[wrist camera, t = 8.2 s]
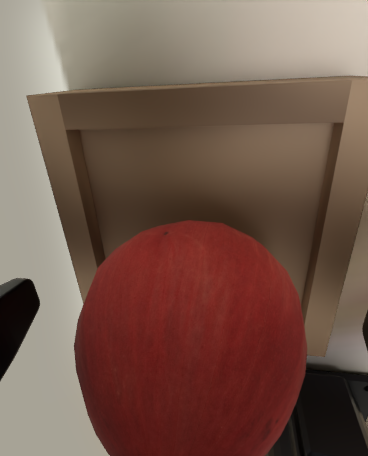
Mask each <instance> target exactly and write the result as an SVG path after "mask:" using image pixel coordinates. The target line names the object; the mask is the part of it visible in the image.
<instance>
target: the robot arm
mask: <svg viewBox="0 0 368 456" xmlns="http://www.w3.org/2000/svg"><path fill="white" fill-rule="evenodd" d="M39 306H40V300H39V297H38V295H37V292H36V289H35V286H34V284H33V282H32V281H31V280H30V279H25V278H16V279H13V280H11V281H9V282H7V283H4V284H2V285H0V381H1V379H2V378H3V376H4V374H5V373H6V371H7V369H8V368H9V366H10V364H11V363H12V361H13V359H14V358H15V356H16V354H17V352H18V350H19V348H20V346H21V344H22V342H23V340H24V338H25V336H26V334H27V332H28V330H29V328H30V326H31V323H32V322H33V320H34V318H35V315H36V314H37V311H38V309H39ZM363 336H364V340H365V343H366V347H367V351H368V311H367V314H366V317H365V320H364V323H363ZM367 417H368V376H364V375H354V374H344V373H335V372H325V371H315V370H305V377H304V380H303V383H302V386H301V390H300V393H299V396H298V399H297V402H296V404H295V406H294V409H293V411H292V414H291V416H290V418H289V420H288V422H287V424H286V426H285V428H284V430H283V432H282V434H281V436H280V437H279V438H278V440H277V441H276V442H275V444H274V445H273V446H272V448H271V449H270V450H269V452H268V453H267V454H266V455H265V456H368V429H367V426H366V423H365V422H366V419H367Z"/></svg>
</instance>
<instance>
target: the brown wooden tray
mask: <svg viewBox="0 0 368 456" xmlns="http://www.w3.org/2000/svg"><path fill="white" fill-rule="evenodd" d="M27 100H28V104H29V107H30V111H31V115H32V118H33V122H34V125H35V129H36V133H37V136H38V140H39V143H40V147H41V151H42V155H43V158H44V162H45V165H46V169H47V172H48V176H49V180H50V183H51V187H52V191H53V195H54V198H55V202H56V205H57V209H58V213H59V216H60V220H61V224H62V227H63V231H64V234H65V238H66V241H67V245H68V249H69V252H70V256H71V260H72V264H73V267H74V271H75V274H76V278H77V282H78V285H79V289H80V293H81V296H82V300H83V304H84V302H85V299H86V296H87V293H88V291H89V288H90V286H91V284H92V281H93V279H94V276H95V274H96V271H97V269H98V267H99V266H100V265H101V264H102V263H103V262H104V261H105V260H106V258H107V257H108V256H109V255H110V254H111V253H112V252H113V251H114V250H115V249H116V248H118V247H119V246H121V245H122V244H124V243H125V242H127V241H128V240H130V239H131V238H133V237H134V236H136V235H137V234H139V233H140V232H142V231H145V230H148V229H151V228H154V227H157V226H161V225H166V224H171V223H176V222H181V221H186V220H193V221H205V222H217V223H224V224H226V225H228V226H230V227H232V228H234V229H236V230H238V231H240V232H242V233H245V234H247V235H249V236H251V237H253V238H254V239H255V240H256V241H258V242H259V243H260V244H262V245H263V246H264V247H265V248H266V249H267V250H268V251H269V252H270V253H271V254H272V255H273V256H274V258H275V259H276V260H277V261H278V262H279V263H280V264H281V265H282V266H283V267H284V268H285V269H286V270H287V272H288V274H289V276H290V278H291V280H292V282H293V284H294V286H295V288H296V290H297V292H298V294H299V299H300V304H301V309H302V314H303V319H304V326H305V334H306V341H307V355H310V356H321V357H325V354H326V351H327V347H328V343H329V339H330V335H331V331H332V327H333V323H334V319H335V316H336V312H337V308H338V304H339V300H340V296H341V292H342V288H343V285H344V281H345V277H346V273H347V269H348V265H349V261H350V257H351V254H352V250H353V246H354V242H355V238H356V234H357V230H358V226H359V222H360V219H361V215H362V211H363V207H364V203H365V199H366V195H367V191H368V77H366V76H338V77H318V78H298V79H279V80H259V81H239V82H219V83H199V84H179V85H159V86H139V87H120V88H100V89H80V90H70V91H62V92H53V93H45V94H37V95H28V96H27Z"/></svg>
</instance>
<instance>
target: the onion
mask: <svg viewBox="0 0 368 456" xmlns="http://www.w3.org/2000/svg"><path fill="white" fill-rule="evenodd" d="M74 350H75V361H76V371H77V375H78V379H79V383H80V387H81V390H82V394H83V398H84V402H85V405H86V409H87V412H88V416H89V418H90V421H91V423H92V426H93V428H94V431H95V433H96V435H97V436H98V438H99V440H100V441H101V443H102V445H103V446H104V448H105V449H106V451H107V453H108V454H109V455H110V456H265V455H266V454H267V453H268V452H269V450H270V449H271V448H272V446H273V445H274V444H275V442H276V441H277V440H278V438H279V437H280V436H281V434H282V432H283V430H284V428H285V426H286V424H287V422H288V420H289V418H290V416H291V414H292V411H293V409H294V406H295V404H296V402H297V399H298V396H299V393H300V390H301V386H302V383H303V380H304V377H305V370H306V359H307V341H306V334H305V326H304V319H303V314H302V309H301V304H300V299H299V294H298V292H297V290H296V288H295V286H294V284H293V282H292V280H291V278H290V276H289V274H288V272H287V270H286V269H285V268H284V267H283V266H282V265H281V264H280V263H279V262H278V261H277V260H276V259H275V258H274V256H273V255H272V254H271V253H270V252H269V251H268V250H267V249H266V248H265V247H264V246H263V245H262V244H260V243H259V242H258V241H256V240H255V239H254V238H253V237H251V236H249V235H247V234H245V233H242V232H240V231H238V230H236V229H234V228H232V227H230V226H228V225H226V224H224V223H217V222H205V221H193V220H186V221H181V222H176V223H171V224H166V225H161V226H157V227H154V228H151V229H148V230H145V231H142V232H140V233H139V234H137V235H136V236H134V237H133V238H131V239H130V240H128V241H127V242H125V243H124V244H122V245H121V246H119V247H118V248H116V249H115V250H114V251H113V252H112V253H111V254H110V255H109V256H108V257H107V258H106V260H105V261H104V262H103V263H102V264H101V265H100V266H99V267H98V269H97V271H96V274H95V276H94V279H93V281H92V284H91V286H90V288H89V291H88V293H87V296H86V299H85V302H84V305H83V308H82V310H81V313H80V316H79V319H78V323H77V330H76V336H75V343H74Z"/></svg>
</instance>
